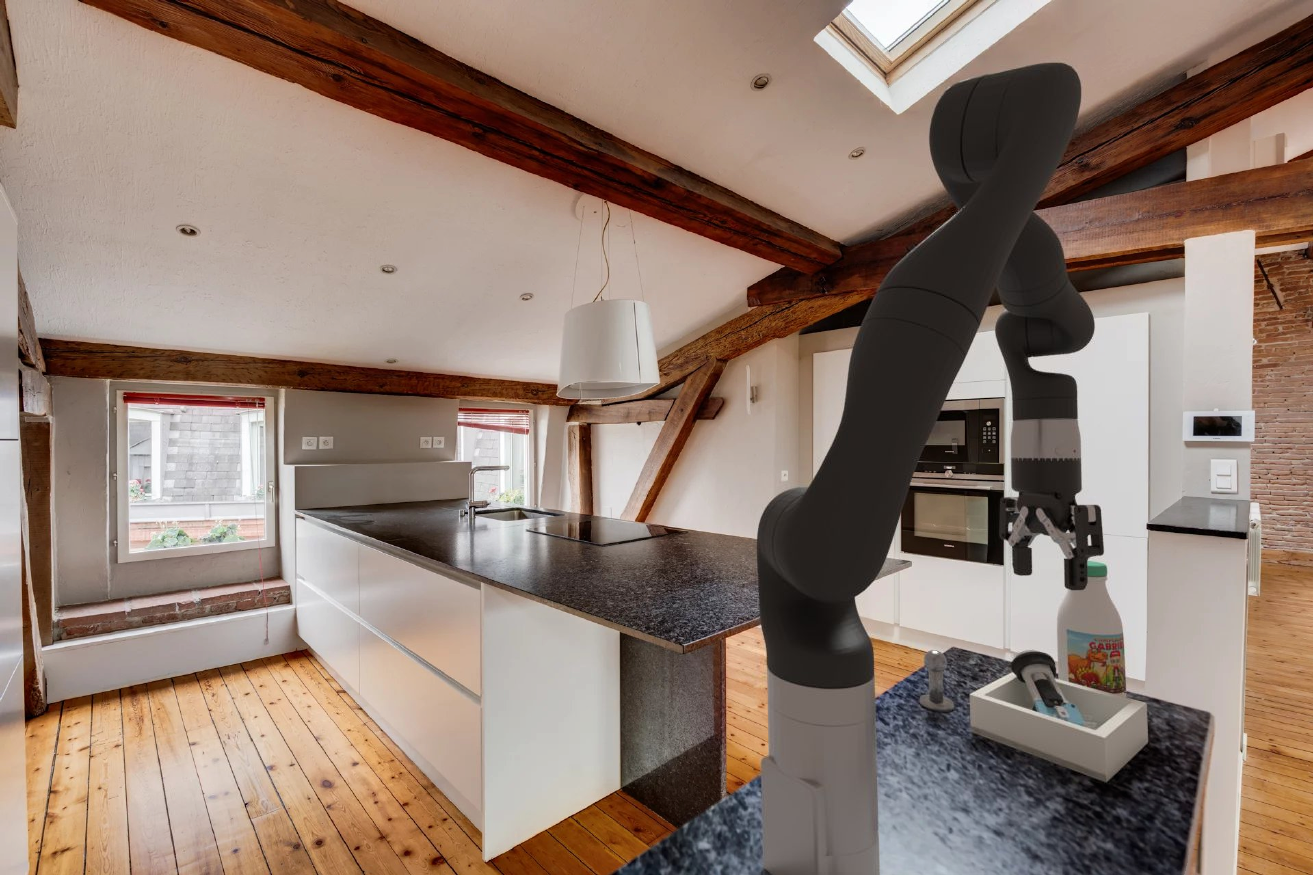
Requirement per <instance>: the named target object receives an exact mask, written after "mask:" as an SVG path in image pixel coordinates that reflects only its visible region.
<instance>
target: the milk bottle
mask: <svg viewBox="0 0 1313 875" xmlns="http://www.w3.org/2000/svg"><path fill="white" fill-rule="evenodd" d="M1087 574H1088V577H1087V578H1088V583H1087V586H1086V588H1085V589H1084V590H1069V589H1067V591H1066V593H1065V595H1064V597H1063V599H1062V601H1061V603H1060V605H1059V607H1058V612H1057V617H1056V644H1057V646H1056V648H1057V671H1058V673H1057V676H1058V678H1057V679H1059V680H1063V681H1067V682H1070V683H1074V684H1078V685H1082V686H1085V687H1089V688H1093V689H1096V690H1100V691H1104V692H1108V693H1111V694H1115V695H1119V696H1122V697H1126V698H1127V679H1126V659H1125V658H1126V656H1125V638H1124V627H1123V622H1122V619H1121V615H1120V613H1119V612H1118V610H1117V608H1116V606H1115V603H1114V602H1113V600H1112V598H1111V596H1110V594H1109V592H1108V588H1107V585H1106V582H1107V580H1108V566H1107V564H1105V563H1102V562H1099V561H1093V560H1088V561H1087ZM1084 681H1085V682H1084ZM1093 683H1094V684H1093ZM1099 685H1101V686H1099ZM1103 686H1106V687H1103ZM1111 688H1114V689H1111ZM1117 690H1119V691H1117ZM1124 692H1126V693H1124Z"/></svg>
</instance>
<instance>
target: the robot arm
mask: <svg viewBox="0 0 1313 875" xmlns="http://www.w3.org/2000/svg"><path fill="white" fill-rule="evenodd" d="M1081 82H1082V81H1081V79H1080V77H1079V74H1078V72H1077V70H1075V68H1073V66H1072V65H1069V64H1066V63H1064V62H1042V63H1040V62H1039V63H1034V64H1030V65H1025V66H1021V67H1015V68H1011V69H1007V70H1003V71H998V72H994V73H988V74H987V73H985V74H983V75H978V76H973V77H969V78H966V79H964V80H960V81H959V82H955V83H954V84H952V85H950V86H949V87H947V89H946V90H945V91H944V92H943V93H942V95H941V96H940V97H939V99H938V100H937V102H936V104H935V107H934V110H933V113H932V116H931V121H930V124H929V131H928V133H929V135H928V143H929V153H930V156H931V160H932V165H933V167H934V169H935V172H936V174H937V176H938V178H939V180H940V182H941V184H942V186H943V187H944V189H945V190H946V192H947V194H948V195H949V197H950V198H951V201H952V202H953V204H954V205H955V206H956V207H955V208H957V210H958V211H957V212H956V213H955V214H954V215H953V216H952V217H950V218H949V219H948V220H947V221H946V222H944V223H943V224H942V225H941V226H940V227H938V228H937V229H935V231H933V232H932V233H931V234H929V235H928V236H927V237H926V238H925V239H923V241H921V242H920V243H919V244H917V245H916V246H915V247H914V248H913V249H911V250H910V251H909V252H908V253H907V254H906V255H905V256H904V257H903V258H901V259H900V260H899V261H898V263H896V264H895V265H894V266H893V267H892V268H891V269H890V270H889V272H888V273H887V274H886V276H884V279H883V280H882V282H880V285H879V287H878V288H877V290H876V293H875V294H874V297H873V299H872V300H871V304H870V306H869V307H868V309H867V312H866V314H865V316H864V318H863V320H862V321H861V322H862V323H861V325H860V327H859V329H858V333H857V334H856V337H855V340H854V344H853V346H852V350H851V354H850V359H849V364H848V372H847V378H846V379H847V381H846V390H845V397H844V404H843V405H844V407H843V411H842V415H841V420H840V423H839V426H838V428H837V431H836V433H835V436H834V438H833V441H832V442H831V445H830V447H829V449H828V451H827V453H826V455H825V457H824V458H823V461H822V463H821V465H820V466H819V469H818V470H817V471H816V474H815V476H814V477H813V478H812V481H811V482H810V484H809V485H808V486H800V487H792V488H789V489H787V490H784V491H782V492H780V493H779V494H777V495H776V496H775V497H774V498H772V500H771V501H769V503H768V504H767V506H766V507H765V508H764V510H763V512H762V514H761V516H760V519H759V523H758V527H757V535H756V564H757V565H756V567H757V568H756V569H757V586H758V591H757V592H758V607H759V608H758V609H759V619H760V620H759V621H760V627H761V631H762V635H763V639H764V644H765V651H766V652H765V653H766V680H767V681H766V682H767V685H766V687H767V688H766V689H767V727H768V728H767V732H768V733H767V734H768V736H767V737H768V739H767V742H768V755H765V756H764V757H763V758H761V760H760V777H761V779H760V780H761V781H760V784H761V825H762V826H761V829H762V830H761V831H762V867H763V869H765V870H766V871H767V872H768V873H770V874H771V875H881V874H880V873H881V872H880V871H881V869H880V867H881V866H880V829H879V798H878V797H879V796H878V795H879V793H878V761H877V758H878V757H877V725H876V724H877V722H876V720H877V719H876V717H877V716H876V685H875V683H876V681H875V654H874V653H875V652H874V646H873V643H872V640H871V638H870V636H869V635H868V634H869V633H868V632H867V631H866V629H865V627H864V625H863V622H862V621H861V618H860V615H859V611H858V608H857V603H856V597H857V596H859V595H860V594H862V593H863V592H864V591H866V589H868V588H869V587H870V586H871V585H872V584H873V582H874V581H875V580H876V578H877V577H878V576H879V574H880V572H881V570H882V569H883V567H884V564H885V562H886V559H887V557H888V554H889V553H890V552H889V551H890V549H891V546H892V543H893V540H894V537H895V533H896V530H897V528H898V524H899V521H900V518H901V514H902V511H903V509H904V508H903V507H904V506H905V501H906V499H907V495H908V492H909V489H910V486H911V483H912V480H913V477H914V474H915V471H916V468H917V465H918V462H919V460H920V458H921V455H922V454H923V451H924V449H925V446H926V445H927V442H928V440H929V438H930V436H931V434H932V431H934V430H933V429H934V427H935V424H936V422H937V421H938V418H939V416H940V413H941V411H942V409H943V407H944V404H945V402H946V399H947V397H948V395H949V392H950V390H951V388H952V386H953V384H954V382H955V380H956V378H957V376H958V374H959V372H960V370H961V368H962V366H963V364H964V362H965V360H966V358H967V355H968V354H969V351H970V349H971V346H972V344H973V342H974V339H975V338H976V335H977V333H978V330H979V328H980V326H981V324H982V321H983V318H984V315H985V314H986V311H987V308H988V306H989V304H990V302H991V298H992V295H993V293H994V290H995V288H996V290H997V293H998V295H999V299H1000V302H1001V305H1002V306H1003V308H1004V310H1003V311H1002V312H1001V313H1000V315H999V316H998V317H997V319H996V320H997V321H996V322H995V326H994V333H995V334H994V335H995V338H996V339H995V340H996V342H997V345H998V347H999V350H1000V352H1001V355H1002V358H1003V361H1004V364H1005V368H1006V370H1007V374H1008V378H1009V382H1010V388H1011V390H1010V391H1011V401H1012V404H1011V406H1012V407H1011V408H1012V425H1011V426H1012V427H1011V432H1010V433H1011V434H1010V477H1011V480H1010V481H1011V482H1010V483H1011V486H1010V487H1011V490H1013V491H1014V492H1016V493H1018V496H1004V497H1003V496H1001V498H1000V499H999V523H998V525H999V530H998V537H999V539H1001V540H1003V541H1007V542H1008V544H1009V546H1010V547H1011V554H1012V555H1011V556H1012V557H1011V558H1012V564H1011V565H1012V568H1013V569H1012V570H1013V574H1015V575H1016V576H1021V577H1022V576H1025V577H1026V576H1031V575H1032V574H1033V550H1032V549H1033V548H1032V547H1029V546H1031V544H1033V541H1034V540H1035V538H1036V537H1037V536H1040V535H1043V536H1048V537H1050V538H1051V540H1052V542H1053V543H1055V544H1057V545H1058V546H1059V547H1060V549H1061V552H1062V553H1063V556H1064V557H1065V558H1063V574H1064V578H1063V579H1064V580H1063V582H1064V587H1065V589H1067V590H1068V589H1069V590H1084V589H1085V588H1086V586H1087V583H1088V578H1087V577H1088V574H1087V561H1089V559H1090V558H1093V557H1098V556H1100V557H1101V556H1103V555H1104V553H1105V548H1104V531H1103V522H1102V521H1103V520H1102V519H1103V518H1102V509H1101V506H1100V505H1098V504H1078V503H1077V500H1076V495H1077V494H1079V493H1081V492H1082V490H1083V487H1082V486H1083V484H1082V482H1083V480H1082V476H1083V475H1082V440H1081V431H1080V427H1079V420H1078V419H1079V415H1078V414H1079V413H1078V412H1079V411H1078V384H1077V380H1076V379H1075V378H1074V376H1072V375H1070V374H1066V373H1061V372H1060V373H1059V372H1051V371H1050V372H1049V371H1041V370H1036V369H1035V368H1033V367H1032V365H1031V364H1030V362H1029V359H1030V358H1035V357H1036V358H1037V357H1048V356H1059V355H1070V354H1074V353H1077V352H1080V351H1081V350H1083V349H1084V348H1086V347H1087V346H1088V345H1089V343H1090V342H1091V340H1093V337H1094V334H1095V329H1096V325H1095V319H1094V314H1093V312H1092V309H1091V308H1090V307H1091V306H1089V304H1088V303H1087V301H1086V300H1085V299H1084V297H1083V296H1082V295H1081V294H1080V292H1079V291H1078V290H1077V289H1076V288H1075V286H1073V284H1072V282H1071V281H1070V279H1069V276H1068V275H1069V274H1068V270H1067V264H1066V263H1067V262H1066V259H1065V252H1064V248H1063V245H1062V242H1061V240H1060V239H1059V237H1058V235H1057V234H1056V232H1055V231H1054V229H1053V228H1052V226H1050V224H1048V223H1047V222H1046V221H1045V220H1044V219H1043V218H1042V217H1041V216H1039V215H1038V213H1036V212H1035V211H1034V209H1035V208H1036V207H1037V204H1038V203H1039V201H1040V199H1041V197H1042V195H1043V194H1044V192H1045V190H1046V188H1047V187H1048V185H1049V184H1050V181H1051V180H1052V177H1053V176H1054V175H1055V172H1056V171H1057V168H1058V166H1059V165H1060V164H1061V161H1062V159H1063V158H1064V155H1065V152H1066V151H1067V149H1068V147H1069V143H1070V142H1071V139H1072V136H1073V133H1074V131H1075V127H1076V125H1077V122H1078V119H1079V118H1078V117H1079V114H1080V113H1079V112H1080V108H1081V103H1082V83H1081ZM1010 523H1011V524H1012V526H1011V530H1009V526H1010V525H1009V524H1010ZM1089 537H1090V545H1089ZM1073 546H1074V547H1073Z"/></svg>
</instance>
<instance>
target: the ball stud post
mask: <svg viewBox="0 0 1313 875" xmlns="http://www.w3.org/2000/svg"><path fill="white" fill-rule="evenodd" d="M923 663H924V665H925V667H926V668H927V669H928V690H929V692H928V693H929V694H922V695H920V696H919V704H920V706H921V707H923V708H925V709H927V710H930V711H933V712H939V713H947V712H952V711H953V710H954V708H955V703H954V701H953V700H952V699H950V698H949V697H946V696H944V680H943V679H944V678H943V676H944V675H943V674H944V673H943V671H945V670H946V668H947V666H948V660H947V658H946V656H945V654H944V653H942V652H941V651H939V650H937V649H936V650H935V649H931V650H929V651H927V652H925V654H924V657H923Z"/></svg>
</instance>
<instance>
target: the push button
mask: <svg viewBox="0 0 1313 875" xmlns="http://www.w3.org/2000/svg"><path fill="white" fill-rule="evenodd" d="M1010 669H1011V671H1012V672H1013V673H1014V674H1015V675H1016V676H1017V678H1018V679H1019V680H1020V681H1021V682H1023V683H1026V684H1027V687H1028V689H1029V691H1030V693H1031V695H1032V697H1033V704H1034V706H1033V709H1032V710H1033V711H1036V712H1039V713H1042V714H1045V715H1048V716H1051V717H1055V718H1058V719H1061V720H1064V721H1067V722H1070V723H1073V724H1077V725H1080V726H1083V727H1085V726H1086V727H1095V725H1096V723H1092V722H1087V721H1083V720H1091V719H1092V716H1085V715H1083V714H1080V713H1079V711H1078V709H1077V707H1076V705H1074V704H1071V703H1069V702H1068V701H1067V700H1066V699H1065V697H1064V695H1063V694H1062V692H1061V690H1060V688H1059V686H1058V684H1057V682H1056V680H1055V678H1056V676H1057V667H1056V662H1055V659H1054V658H1053V656H1051V655H1050V654H1048V653H1046V652H1043V651H1040V650H1034V649H1026V650H1023V651H1020V652H1019V653H1018V654H1016V656H1015V657H1014V658H1013V659H1012V660H1011V663H1010ZM1086 717H1089V718H1088V719H1086ZM1090 724H1093V725H1090Z"/></svg>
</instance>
